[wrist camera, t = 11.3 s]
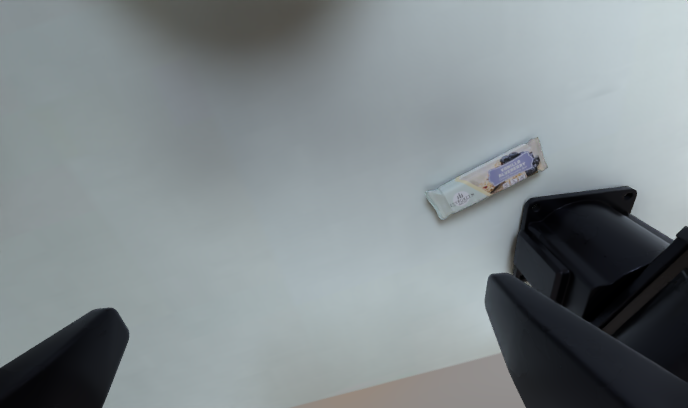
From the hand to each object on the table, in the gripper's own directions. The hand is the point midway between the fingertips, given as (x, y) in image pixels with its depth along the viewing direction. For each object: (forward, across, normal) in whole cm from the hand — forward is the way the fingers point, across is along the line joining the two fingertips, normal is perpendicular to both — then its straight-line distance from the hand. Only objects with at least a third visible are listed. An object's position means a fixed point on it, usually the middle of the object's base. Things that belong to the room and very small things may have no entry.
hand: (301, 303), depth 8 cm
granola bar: (+12, -9, +3) cm, 15 cm away
